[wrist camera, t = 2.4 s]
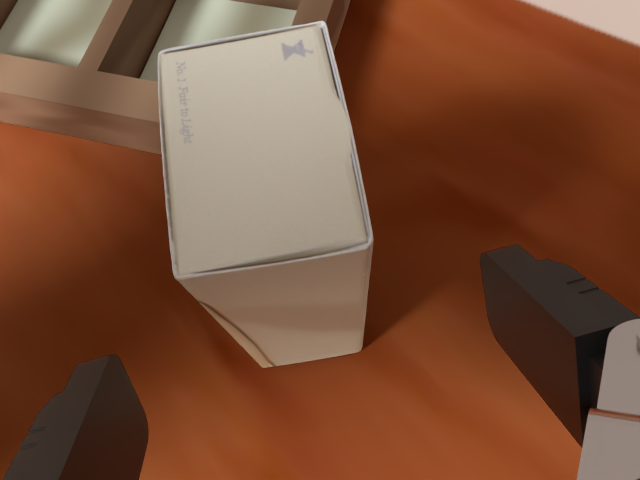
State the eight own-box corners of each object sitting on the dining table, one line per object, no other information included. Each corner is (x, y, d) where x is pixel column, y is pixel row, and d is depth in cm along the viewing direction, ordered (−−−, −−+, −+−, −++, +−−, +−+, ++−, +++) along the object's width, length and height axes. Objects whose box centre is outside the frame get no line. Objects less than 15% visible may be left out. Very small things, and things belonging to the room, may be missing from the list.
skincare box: (245, 234, 25) (148, 41, 14) (343, 217, 25) (326, 9, 14) (262, 375, 22) (160, 282, 11) (370, 356, 22) (378, 243, 11)
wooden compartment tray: (-74, 106, 29) (-120, 67, 26) (29, -57, 33) (-2, -105, 30) (292, 181, 26) (284, 146, 23) (354, -11, 30) (353, -60, 27)
